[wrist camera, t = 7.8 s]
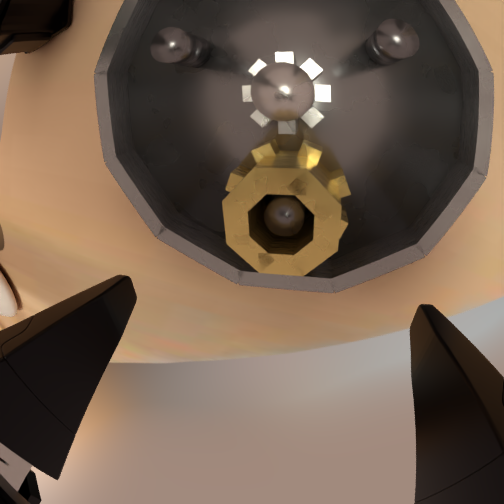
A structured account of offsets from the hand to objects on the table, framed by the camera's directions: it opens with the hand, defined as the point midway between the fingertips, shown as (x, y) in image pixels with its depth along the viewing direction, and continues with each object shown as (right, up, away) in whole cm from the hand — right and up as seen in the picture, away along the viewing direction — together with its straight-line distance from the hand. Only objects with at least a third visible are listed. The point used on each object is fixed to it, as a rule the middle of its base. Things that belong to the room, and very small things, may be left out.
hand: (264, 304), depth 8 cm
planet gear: (+2, +5, +7) cm, 9 cm away
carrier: (+2, +10, +6) cm, 12 cm away
